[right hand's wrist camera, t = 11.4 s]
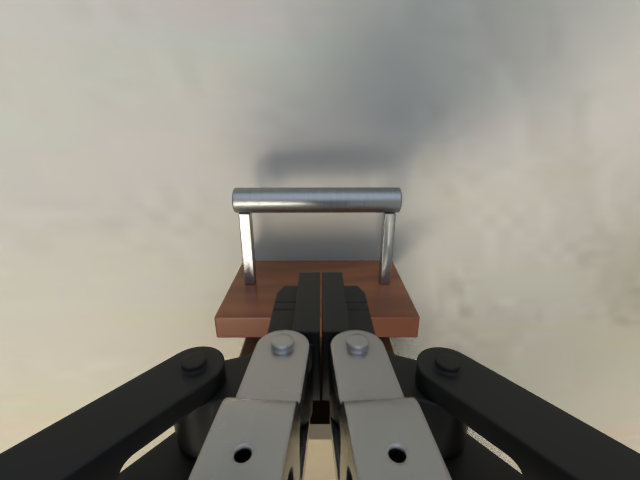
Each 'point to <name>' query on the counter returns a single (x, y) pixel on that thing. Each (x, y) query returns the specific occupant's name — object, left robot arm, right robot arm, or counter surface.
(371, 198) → the drawer
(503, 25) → the counter surface
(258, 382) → the right robot arm
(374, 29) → the counter surface
